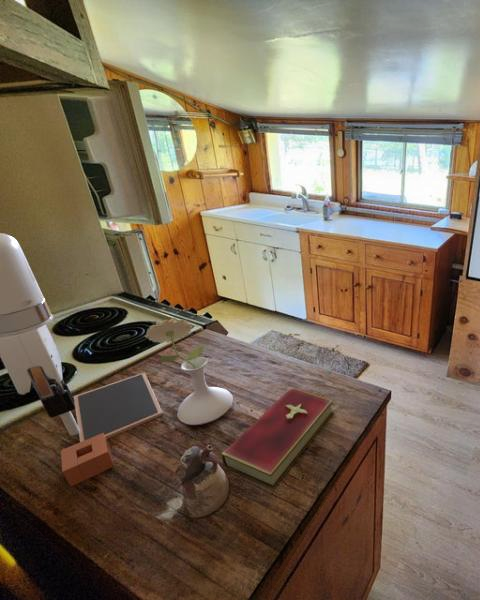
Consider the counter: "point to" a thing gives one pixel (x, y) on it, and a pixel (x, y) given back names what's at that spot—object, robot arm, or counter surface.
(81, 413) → the framed chalkboard
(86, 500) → the counter surface
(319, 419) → the hardcover book
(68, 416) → the light grey square peg
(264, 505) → the counter surface
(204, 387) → the flower in vase
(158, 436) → the counter surface
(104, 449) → the block
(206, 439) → the counter surface
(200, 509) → the figurine
